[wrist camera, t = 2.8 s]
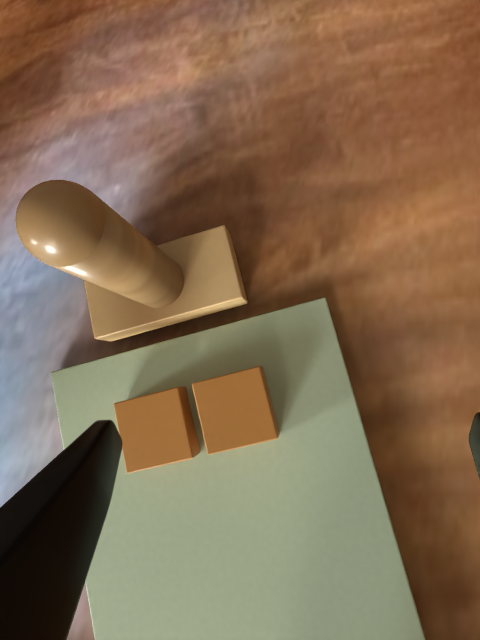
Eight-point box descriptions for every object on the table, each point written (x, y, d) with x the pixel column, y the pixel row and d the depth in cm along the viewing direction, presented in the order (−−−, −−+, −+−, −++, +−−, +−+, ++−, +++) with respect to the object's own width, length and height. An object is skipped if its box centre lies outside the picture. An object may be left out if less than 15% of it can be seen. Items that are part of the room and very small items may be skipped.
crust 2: (280, 434, 23) (278, 439, 21) (213, 449, 23) (207, 455, 21) (262, 365, 23) (259, 365, 22) (198, 382, 24) (191, 383, 22)
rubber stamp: (233, 241, 25) (155, 99, 12) (250, 306, 25) (187, 230, 11) (105, 279, 26) (-94, 188, 13) (118, 343, 26) (-80, 313, 13)
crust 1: (201, 452, 23) (193, 458, 22) (138, 467, 24) (126, 474, 22) (186, 385, 24) (177, 386, 22) (125, 401, 24) (112, 403, 23)
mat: (430, 661, 21) (435, 673, 20) (114, 709, 23) (108, 721, 22) (325, 299, 24) (325, 296, 23) (57, 372, 26) (50, 372, 25)
